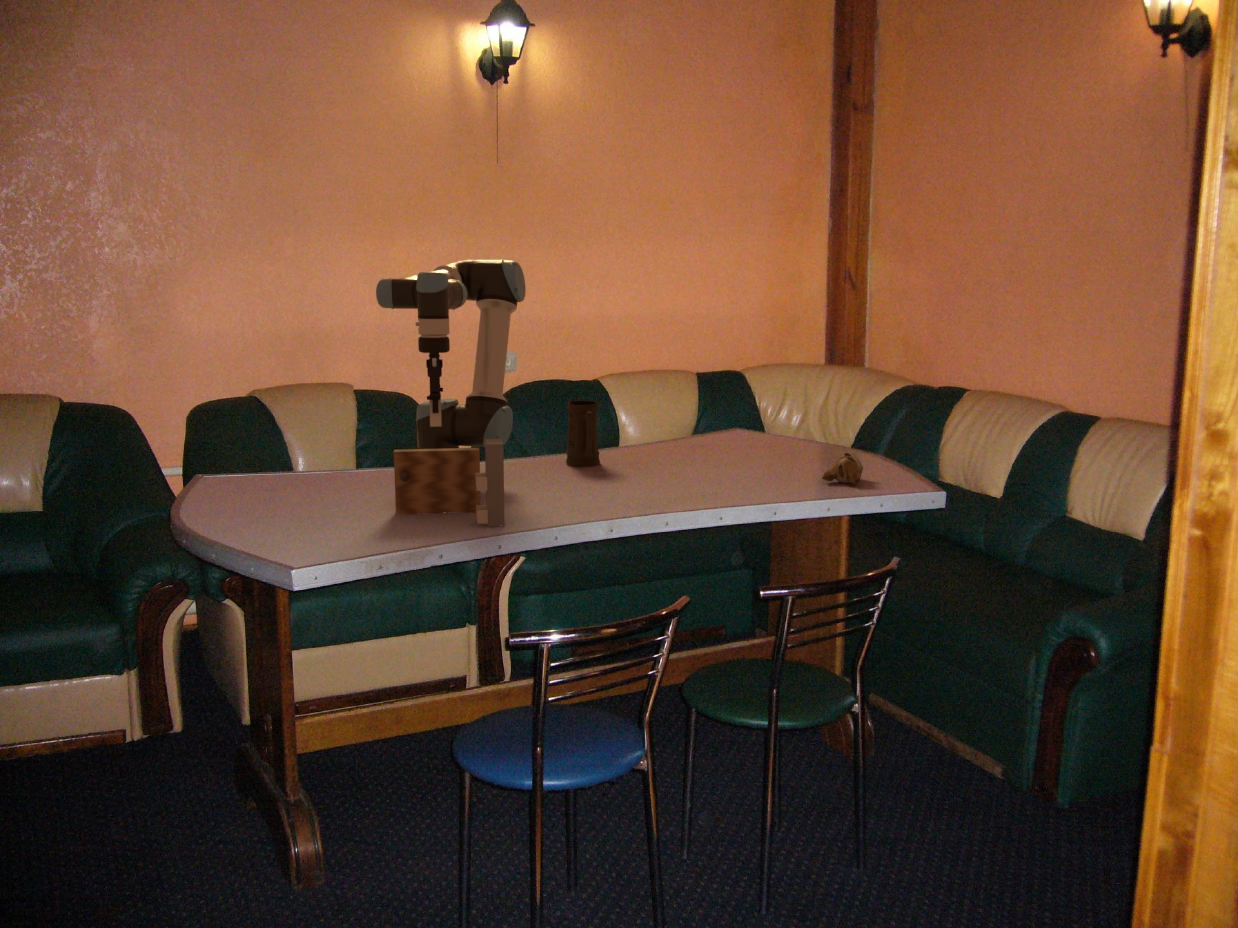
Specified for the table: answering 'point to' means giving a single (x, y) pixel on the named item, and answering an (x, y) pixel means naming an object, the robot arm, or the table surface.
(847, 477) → the ceramic sculpture
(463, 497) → the door
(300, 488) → the table surface
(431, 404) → the robot arm
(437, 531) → the table surface
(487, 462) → the cabinet side
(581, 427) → the beer stein
